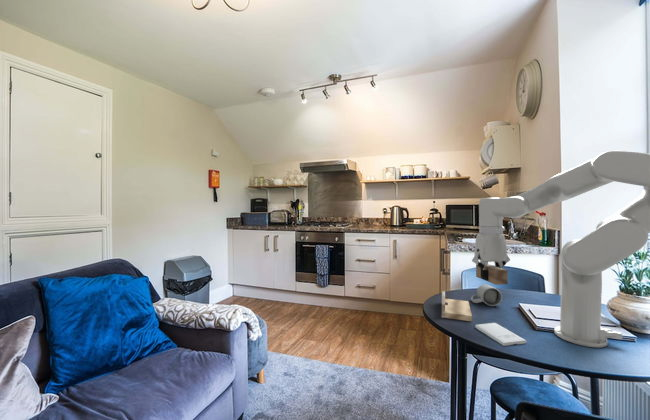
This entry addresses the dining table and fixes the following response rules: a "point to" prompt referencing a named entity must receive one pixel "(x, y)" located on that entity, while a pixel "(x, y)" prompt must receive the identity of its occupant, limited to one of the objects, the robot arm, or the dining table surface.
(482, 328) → the external hard drive
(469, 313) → the oak ledge
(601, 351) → the dining table surface
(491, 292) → the ceramic mug
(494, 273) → the brown rectangular block
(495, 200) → the robot arm
